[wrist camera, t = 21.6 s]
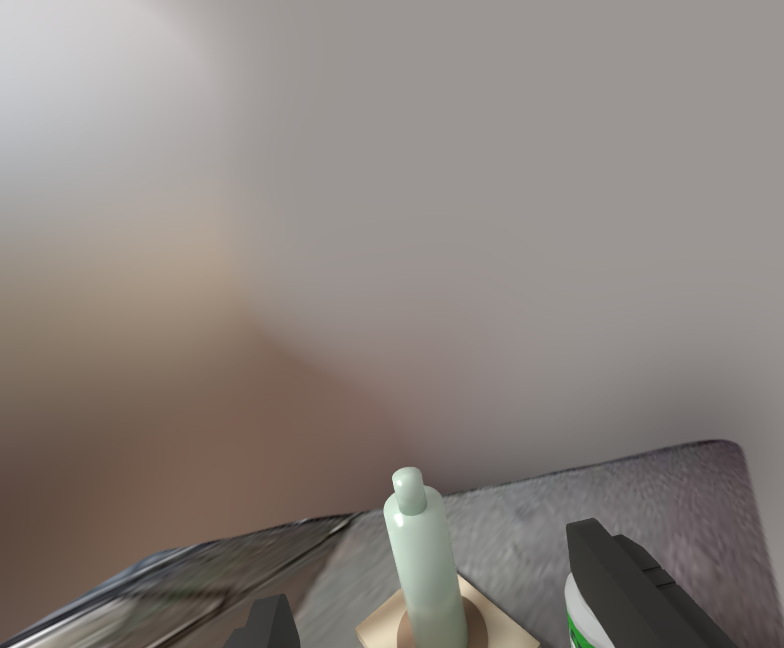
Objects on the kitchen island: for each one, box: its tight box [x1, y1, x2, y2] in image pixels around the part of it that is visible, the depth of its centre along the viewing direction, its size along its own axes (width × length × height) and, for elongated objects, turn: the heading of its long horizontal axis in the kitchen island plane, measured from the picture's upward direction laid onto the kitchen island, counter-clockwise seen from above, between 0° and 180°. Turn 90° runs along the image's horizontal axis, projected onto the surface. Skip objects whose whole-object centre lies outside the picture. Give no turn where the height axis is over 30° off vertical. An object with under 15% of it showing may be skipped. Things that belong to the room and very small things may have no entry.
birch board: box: [355, 574, 541, 648], centre depth 36 cm, size 14×12×1 cm
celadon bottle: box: [384, 467, 469, 648], centre depth 34 cm, size 5×5×18 cm
